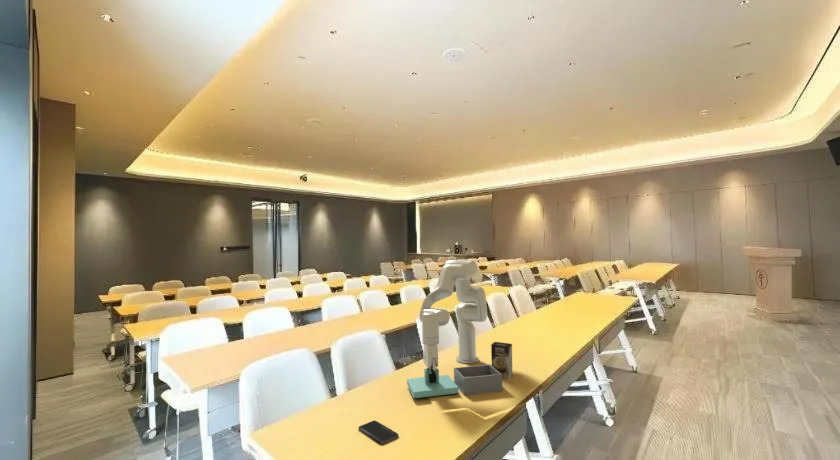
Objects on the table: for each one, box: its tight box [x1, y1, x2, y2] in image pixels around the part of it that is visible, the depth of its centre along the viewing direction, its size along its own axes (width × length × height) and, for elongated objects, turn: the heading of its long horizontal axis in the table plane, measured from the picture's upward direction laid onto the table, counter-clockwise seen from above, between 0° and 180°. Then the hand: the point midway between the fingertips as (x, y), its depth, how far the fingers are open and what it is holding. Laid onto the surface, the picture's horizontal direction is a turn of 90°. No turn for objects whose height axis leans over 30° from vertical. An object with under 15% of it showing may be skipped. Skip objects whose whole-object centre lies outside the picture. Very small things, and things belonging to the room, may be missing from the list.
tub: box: [453, 363, 504, 396], centre depth 170 cm, size 14×18×8 cm
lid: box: [406, 367, 459, 399], centre depth 168 cm, size 16×20×8 cm
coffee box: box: [490, 341, 513, 379], centre depth 184 cm, size 9×6×16 cm
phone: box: [358, 420, 399, 446], centre depth 132 cm, size 8×1×15 cm
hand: (431, 380), depth 168 cm, fingers closed on lid, 3 cm apart
